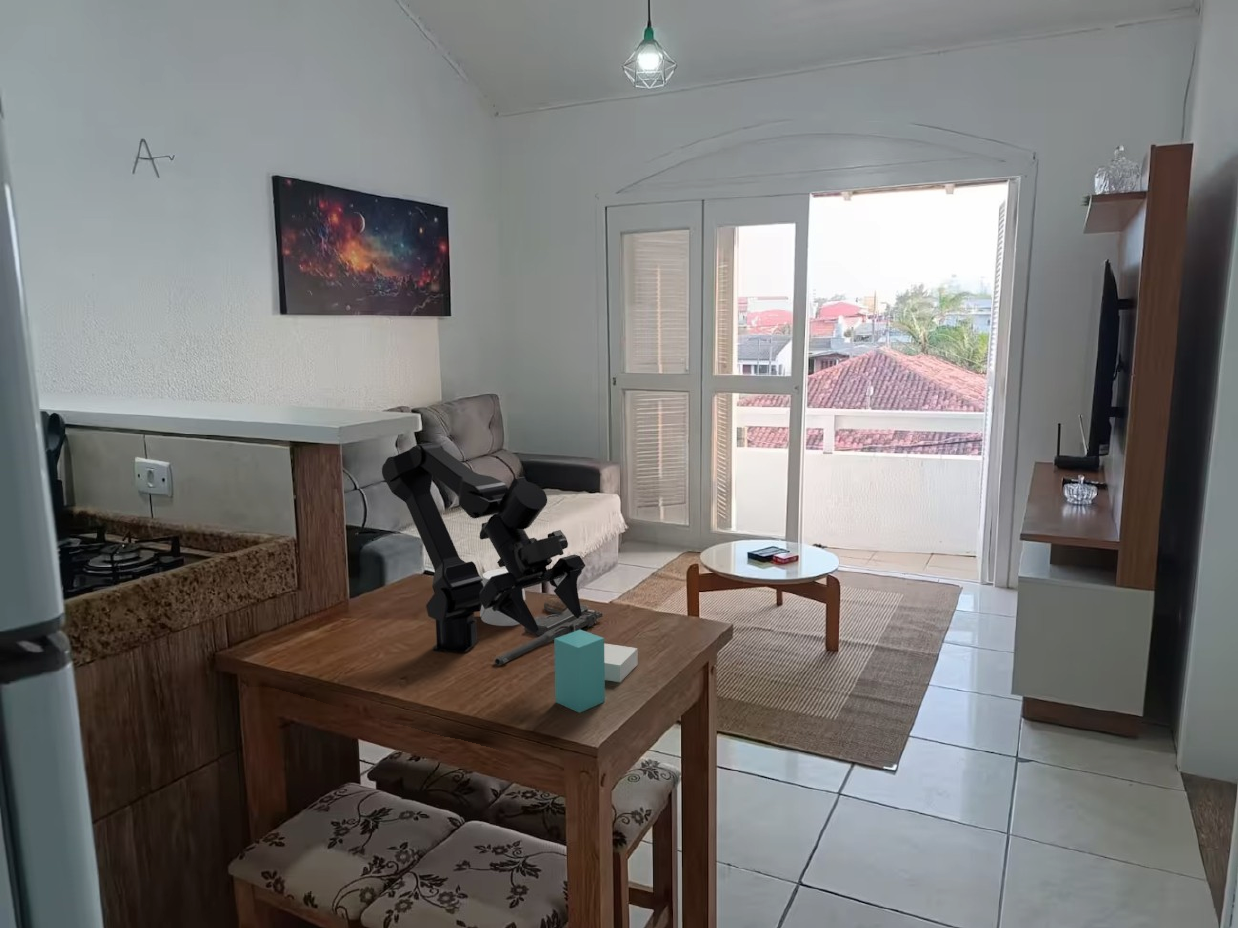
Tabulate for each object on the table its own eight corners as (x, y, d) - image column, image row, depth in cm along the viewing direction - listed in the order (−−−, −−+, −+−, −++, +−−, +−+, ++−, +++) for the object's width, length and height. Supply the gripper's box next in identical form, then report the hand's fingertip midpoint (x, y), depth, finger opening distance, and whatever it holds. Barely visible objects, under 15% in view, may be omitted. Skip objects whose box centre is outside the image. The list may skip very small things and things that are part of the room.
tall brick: (555, 701, 138) (554, 638, 136) (580, 691, 142) (579, 629, 140) (579, 712, 134) (578, 647, 132) (604, 701, 138) (604, 638, 136)
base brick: (576, 675, 148) (576, 658, 147) (595, 658, 155) (595, 642, 155) (620, 682, 145) (620, 665, 144) (637, 664, 152) (637, 648, 152)
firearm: (554, 609, 184) (610, 620, 175) (446, 657, 160) (506, 673, 152) (552, 594, 184) (609, 604, 175) (445, 640, 160) (504, 655, 151)
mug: (533, 571, 175) (512, 582, 168) (534, 616, 177) (513, 629, 170) (483, 564, 180) (460, 575, 173) (484, 608, 182) (462, 620, 175)
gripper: (487, 526, 134) (536, 612, 128) (577, 507, 147) (624, 584, 141) (459, 566, 140) (504, 649, 135) (547, 544, 153) (591, 619, 148)
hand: (558, 624), depth 139 cm, fingers open, 9 cm apart
